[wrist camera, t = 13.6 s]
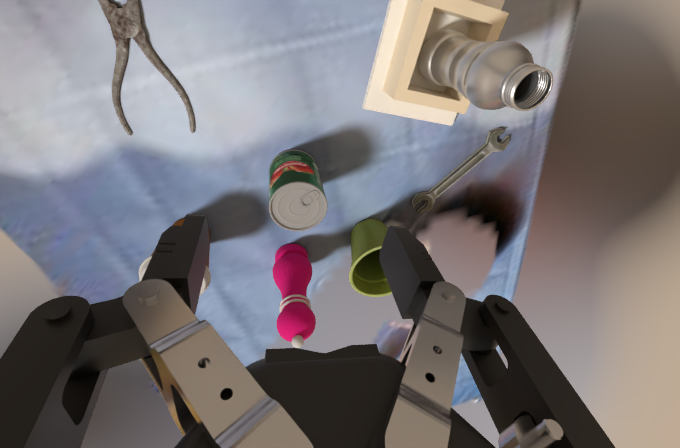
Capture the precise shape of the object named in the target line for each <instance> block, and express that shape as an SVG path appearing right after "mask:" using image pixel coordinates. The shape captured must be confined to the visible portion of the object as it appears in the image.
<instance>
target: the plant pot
mask: <svg viewBox="0 0 680 448" xmlns="http://www.w3.org/2000/svg"><path fill="white" fill-rule="evenodd" d="M387 230H388V228H387V227H386V226H385V225H384V223H383V222H381V221H380V220H377V219H367V220H365V221H362V222H359V223H358V224H357V225H355V227H354V228H353V229H352V232H351V251H352V264H351V270H350V273H349V280H350V283H351V286H352V287H353V289H354V290H356V291H357V292H358V293H360V294H362V295H366V296H370V297H380V296H386V295H389V294H392V291H391V289H390V286H389V284H388V281H387V279H386V276H385V274H384V271H383V269H382V266H381V264H380V258H379V256H380V250H381V247H382V244H383V241H384V238H385V236H386V233H387Z"/></svg>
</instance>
